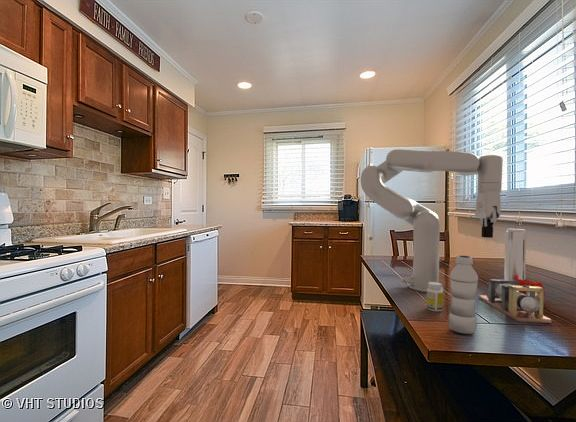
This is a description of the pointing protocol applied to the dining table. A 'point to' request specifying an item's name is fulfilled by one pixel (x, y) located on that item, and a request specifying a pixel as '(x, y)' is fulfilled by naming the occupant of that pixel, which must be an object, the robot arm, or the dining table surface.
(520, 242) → the air filter
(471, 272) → the plastic bottle
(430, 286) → the supplement bottle
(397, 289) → the dining table surface
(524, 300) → the air tube
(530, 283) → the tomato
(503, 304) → the collar rail
